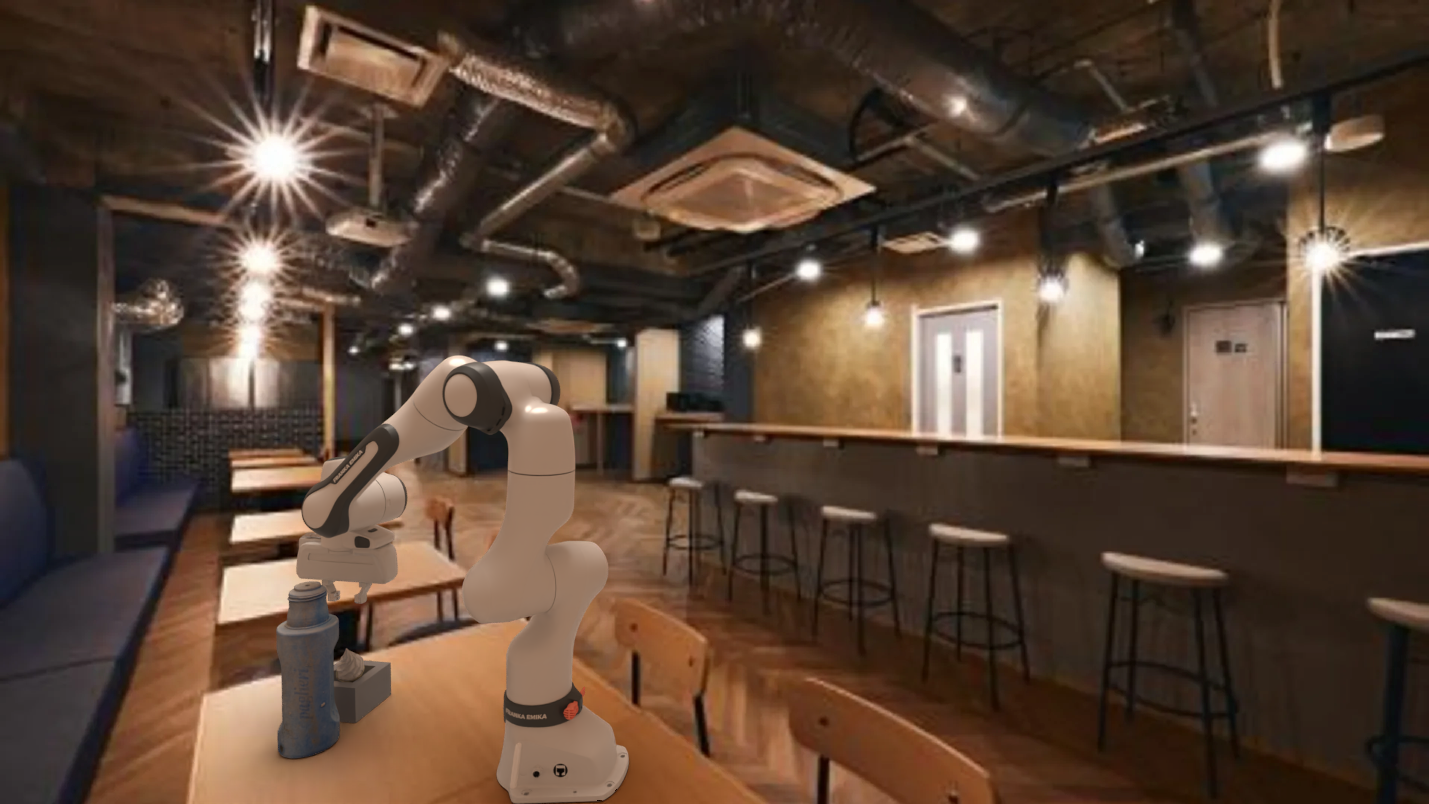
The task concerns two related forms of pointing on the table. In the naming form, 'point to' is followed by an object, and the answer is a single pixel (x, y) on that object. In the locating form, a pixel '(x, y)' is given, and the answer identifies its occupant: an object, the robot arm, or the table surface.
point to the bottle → (307, 673)
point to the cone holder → (362, 691)
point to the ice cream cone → (350, 667)
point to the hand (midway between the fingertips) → (347, 601)
